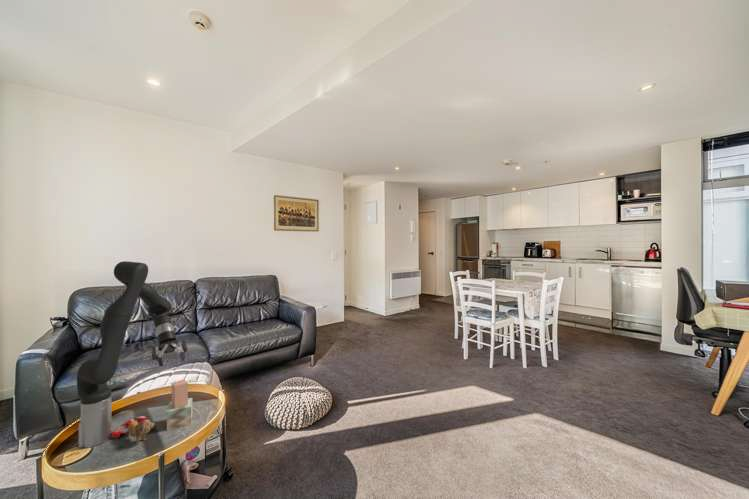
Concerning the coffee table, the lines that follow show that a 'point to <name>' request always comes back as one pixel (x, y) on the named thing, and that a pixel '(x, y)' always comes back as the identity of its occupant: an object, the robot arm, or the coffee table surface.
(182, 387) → the terracotta brick
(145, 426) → the lion figurine
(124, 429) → the race car
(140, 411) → the coffee table surface
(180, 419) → the sage green base block
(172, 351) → the robot arm
